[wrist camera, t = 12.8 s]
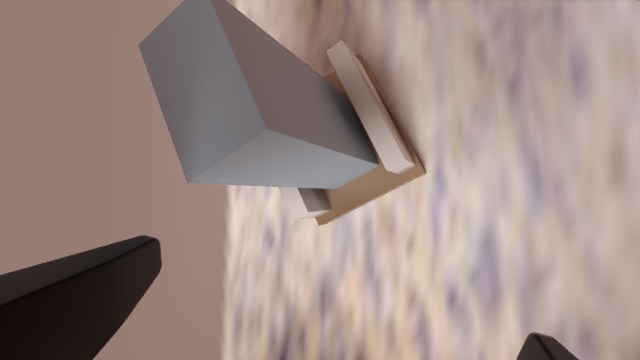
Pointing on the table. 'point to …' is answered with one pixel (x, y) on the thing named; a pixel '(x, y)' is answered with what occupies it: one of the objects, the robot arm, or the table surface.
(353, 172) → the gray rectangular block
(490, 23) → the table surface
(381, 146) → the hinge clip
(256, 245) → the table surface
